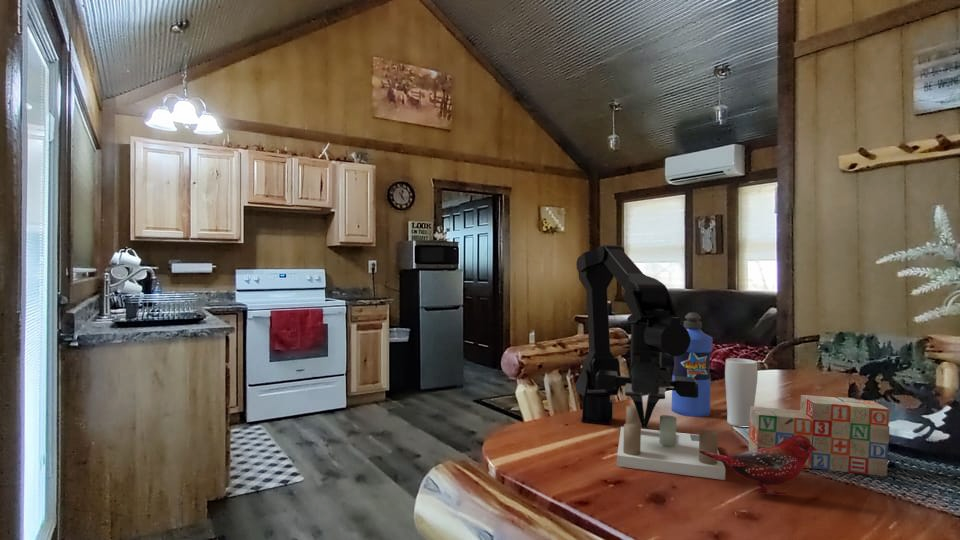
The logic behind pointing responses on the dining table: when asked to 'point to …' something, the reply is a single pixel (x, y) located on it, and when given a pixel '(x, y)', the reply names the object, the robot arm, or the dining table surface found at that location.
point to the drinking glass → (740, 389)
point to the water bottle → (694, 370)
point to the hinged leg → (667, 430)
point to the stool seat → (667, 450)
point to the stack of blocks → (829, 432)
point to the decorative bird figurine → (770, 462)
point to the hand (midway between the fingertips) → (644, 427)
